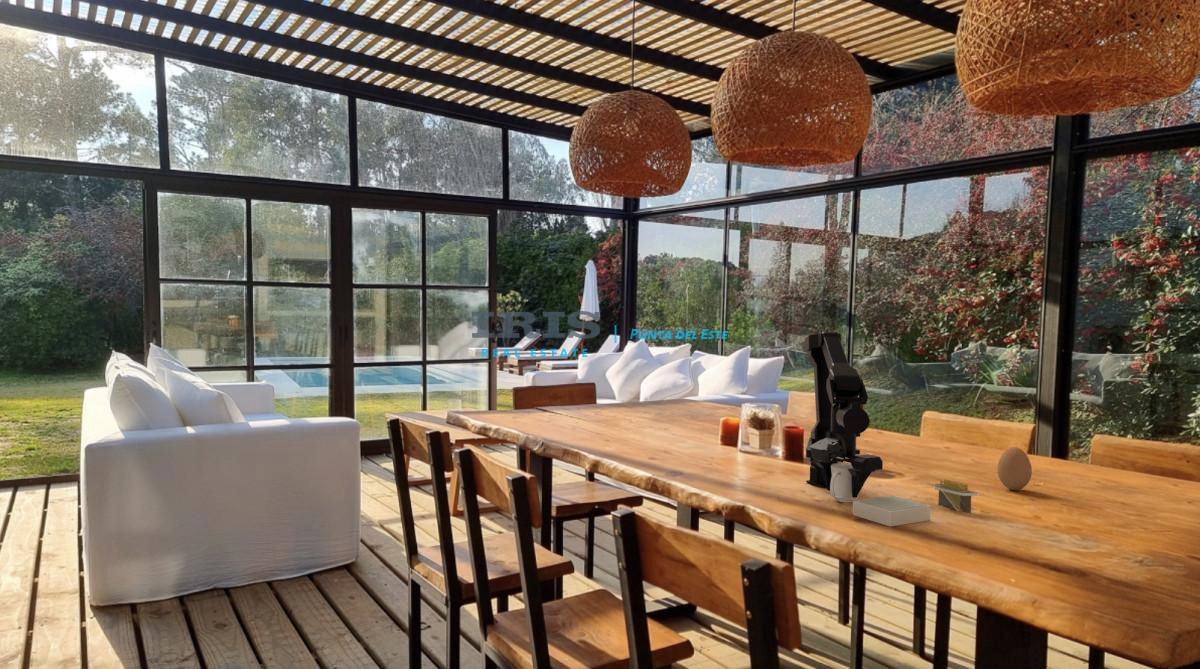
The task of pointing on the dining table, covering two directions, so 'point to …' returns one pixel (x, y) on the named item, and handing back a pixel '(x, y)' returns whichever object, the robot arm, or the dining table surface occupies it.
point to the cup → (841, 482)
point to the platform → (955, 495)
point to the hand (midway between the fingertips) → (841, 493)
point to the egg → (1014, 469)
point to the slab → (891, 510)
